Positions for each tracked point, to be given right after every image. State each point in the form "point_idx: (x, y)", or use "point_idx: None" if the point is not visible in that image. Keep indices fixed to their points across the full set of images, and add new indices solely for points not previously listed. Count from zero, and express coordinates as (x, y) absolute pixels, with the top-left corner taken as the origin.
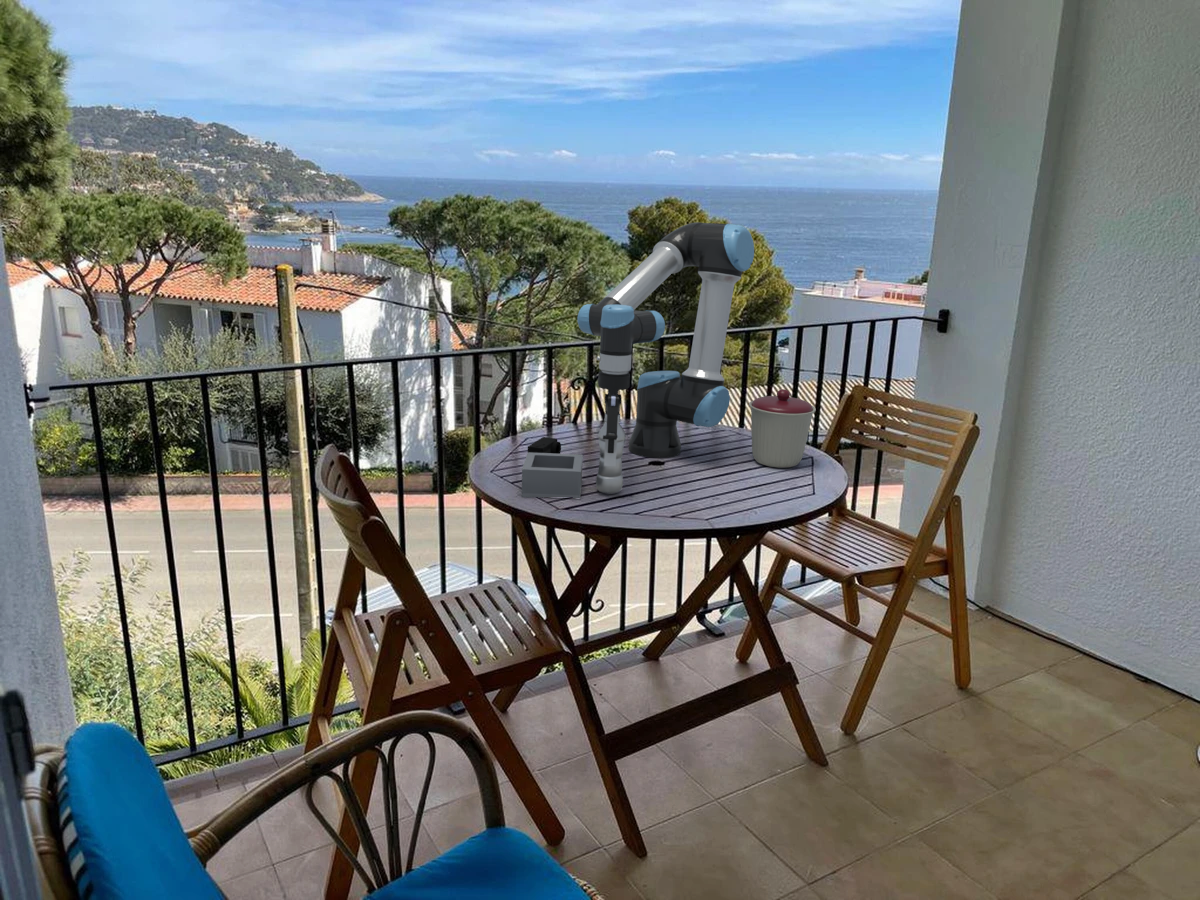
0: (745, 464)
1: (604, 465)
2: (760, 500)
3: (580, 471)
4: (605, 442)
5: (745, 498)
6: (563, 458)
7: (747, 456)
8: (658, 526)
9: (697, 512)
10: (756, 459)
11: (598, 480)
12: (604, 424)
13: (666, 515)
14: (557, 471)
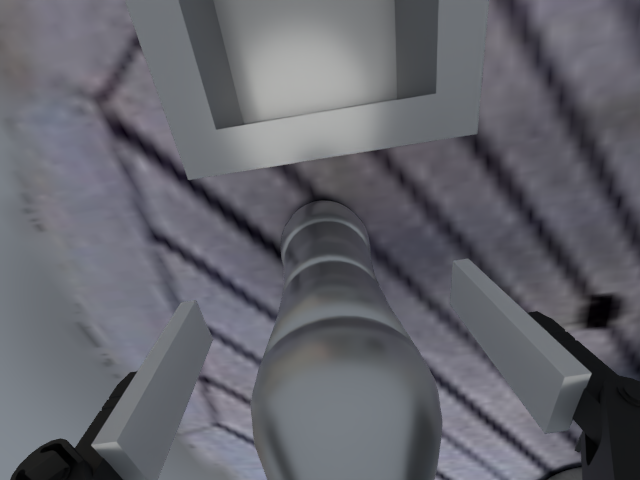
0: (566, 452)
1: (181, 303)
2: None
3: (191, 177)
4: (112, 415)
5: None
6: (431, 20)
7: None
8: (130, 363)
9: (250, 411)
10: (575, 475)
11: (294, 221)
12: (351, 466)
13: (205, 369)
14: (142, 45)
